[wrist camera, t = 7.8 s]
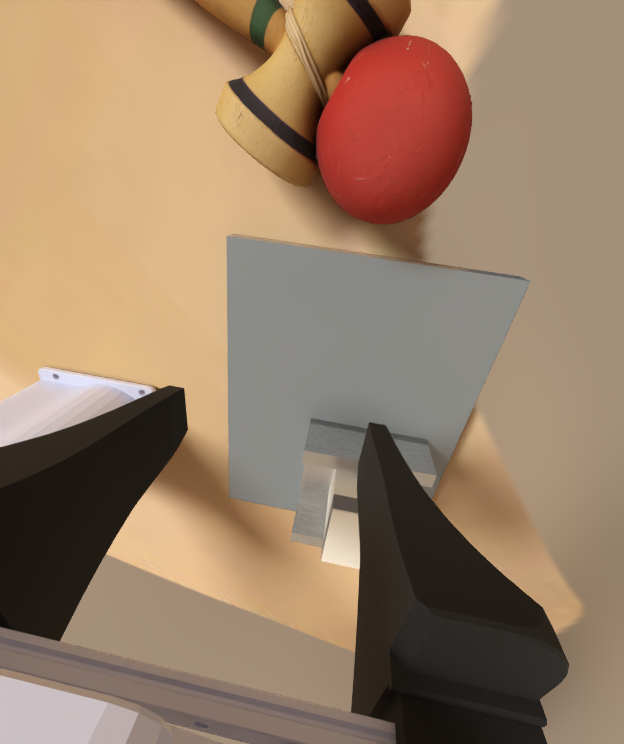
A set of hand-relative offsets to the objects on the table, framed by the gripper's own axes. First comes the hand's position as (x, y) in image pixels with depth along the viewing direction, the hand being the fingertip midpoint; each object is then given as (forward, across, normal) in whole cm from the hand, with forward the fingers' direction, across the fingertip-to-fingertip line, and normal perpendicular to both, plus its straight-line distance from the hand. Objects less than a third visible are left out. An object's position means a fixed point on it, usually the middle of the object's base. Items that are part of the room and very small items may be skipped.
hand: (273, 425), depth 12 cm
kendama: (+10, +3, -13) cm, 17 cm away
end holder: (+8, -5, +10) cm, 14 cm away
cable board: (+9, -3, +5) cm, 11 cm away
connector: (+8, -5, +10) cm, 13 cm away
